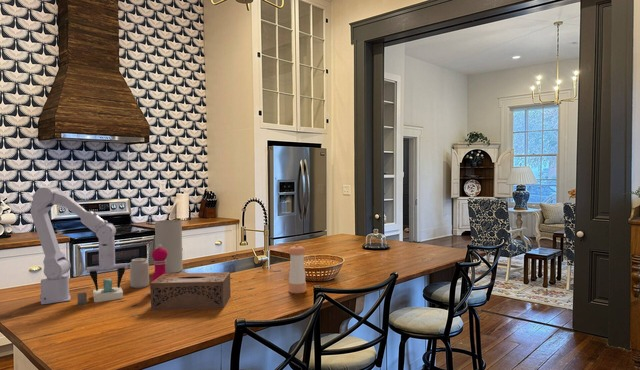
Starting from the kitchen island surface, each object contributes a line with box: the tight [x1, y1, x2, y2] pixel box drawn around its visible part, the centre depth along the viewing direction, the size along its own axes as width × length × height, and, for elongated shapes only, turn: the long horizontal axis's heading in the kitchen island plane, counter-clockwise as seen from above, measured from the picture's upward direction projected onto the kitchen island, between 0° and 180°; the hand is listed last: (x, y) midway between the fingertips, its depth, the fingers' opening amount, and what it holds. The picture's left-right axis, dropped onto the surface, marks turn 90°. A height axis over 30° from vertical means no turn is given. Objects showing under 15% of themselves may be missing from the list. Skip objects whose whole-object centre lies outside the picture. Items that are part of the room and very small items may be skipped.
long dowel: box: [102, 278, 113, 293], centre depth 169 cm, size 3×3×7 cm
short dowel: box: [76, 292, 88, 306], centre depth 160 cm, size 3×3×4 cm
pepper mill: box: [150, 244, 168, 283], centre depth 174 cm, size 7×7×20 cm
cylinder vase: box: [154, 219, 184, 274], centre depth 213 cm, size 12×12×25 cm
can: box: [129, 257, 150, 289], centre depth 185 cm, size 8×8×12 cm
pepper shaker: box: [287, 243, 307, 294], centre depth 175 cm, size 7×7×19 cm
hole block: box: [92, 285, 124, 303], centre depth 169 cm, size 10×10×2 cm
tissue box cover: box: [149, 271, 231, 311], centre depth 160 cm, size 26×14×10 cm, turn 92°
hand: (107, 288), depth 169 cm, fingers open, 7 cm apart
